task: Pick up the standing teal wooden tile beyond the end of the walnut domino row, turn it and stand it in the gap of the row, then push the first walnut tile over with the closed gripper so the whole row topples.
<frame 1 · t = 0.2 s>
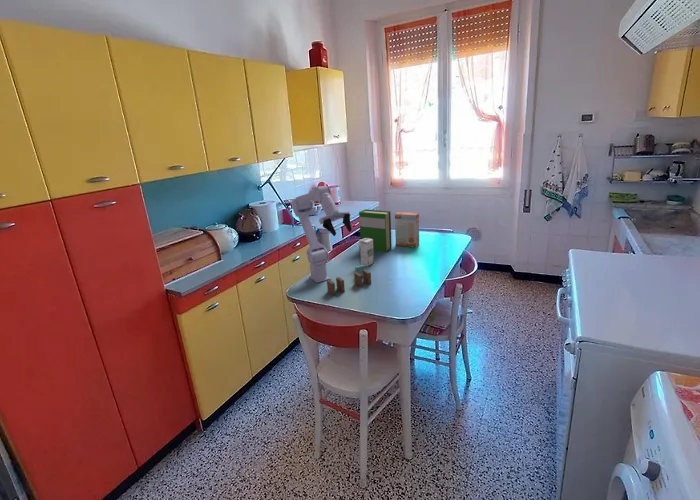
hand: (342, 232, 158), 31 cm above the table, tool tilted 45°, fingers open, 7 cm apart
syrup box: (367, 264, 206), on the table
tile 2: (340, 290, 176), on the table
tile 4: (367, 282, 183), on the table
teal tile: (360, 276, 190), on the table
tile 1: (331, 293, 174), on the table
hardback book: (376, 249, 229), on the table
cracker box: (407, 245, 231), on the table
tile 3: (358, 285, 180), on the table
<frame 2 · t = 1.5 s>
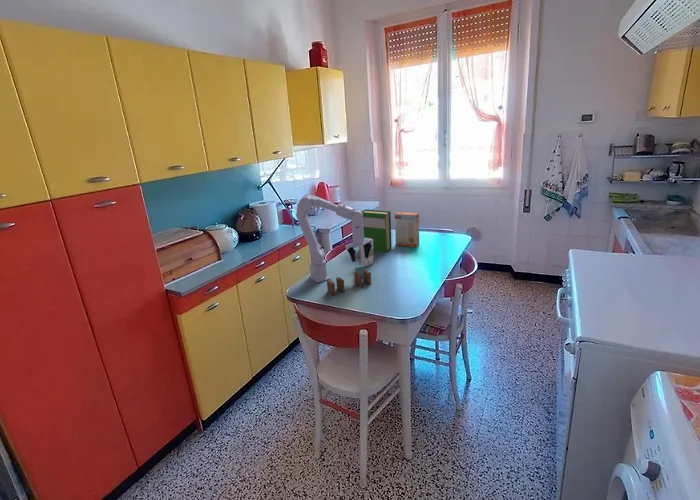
hand: (360, 259, 186), 10 cm above the table, tool pointing down, fingers open, 7 cm apart
nothing on the table moved.
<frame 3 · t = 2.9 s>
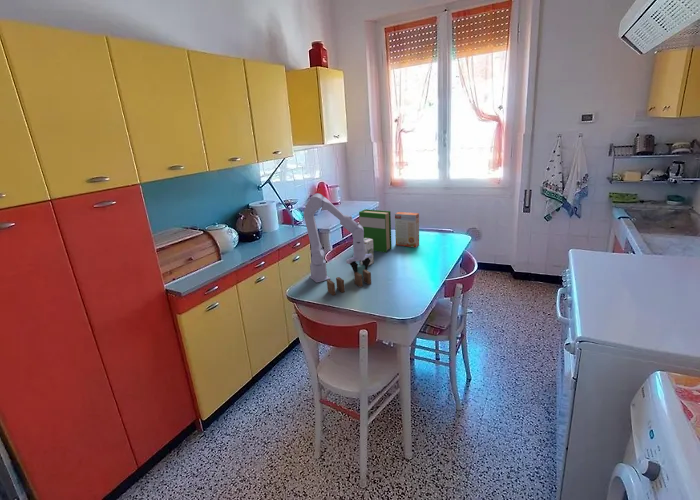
hand: (360, 273, 189), 2 cm above the table, tool pointing down, fingers closed on teal tile, 5 cm apart
teal tile: (360, 276, 190), on the table, touching gripper
everything else where it was.
when the fingers open (2 cm above the table, at t = 7.7 s): teal tile stays where it is, on the table.
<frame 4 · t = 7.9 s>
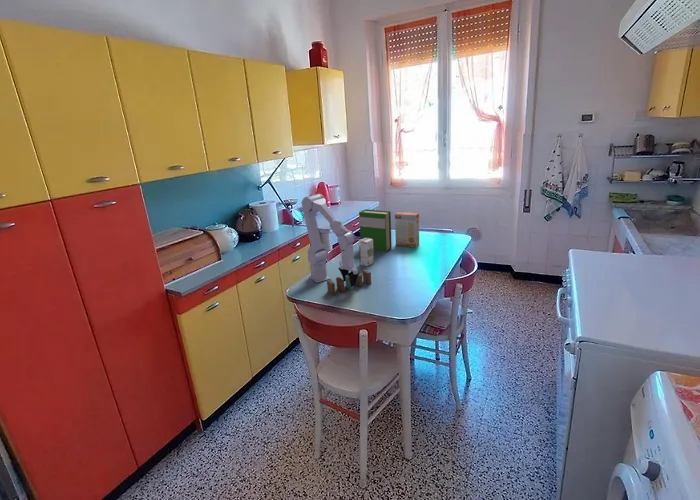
hand: (349, 283, 177), 2 cm above the table, tool pointing down, fingers open, 7 cm apart
teal tile: (349, 287, 178), on the table
everything else where it was.
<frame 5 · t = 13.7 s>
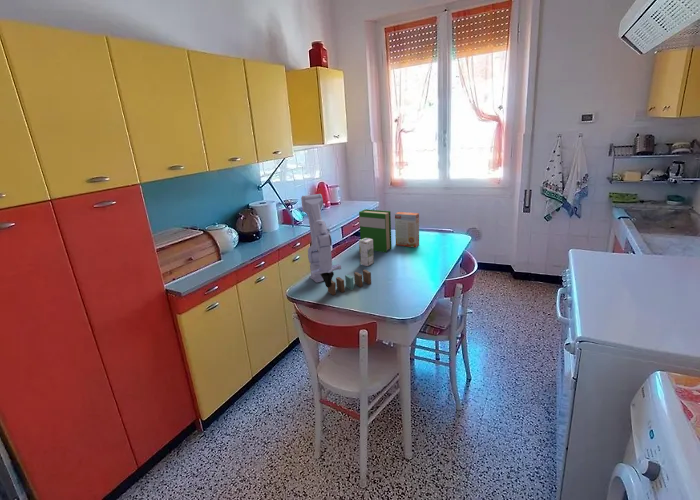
hand: (328, 286, 172), 4 cm above the table, tool pointing down, fingers closed
tile 1: (331, 293, 174), on the table, tilted 6°
everything else where it was.
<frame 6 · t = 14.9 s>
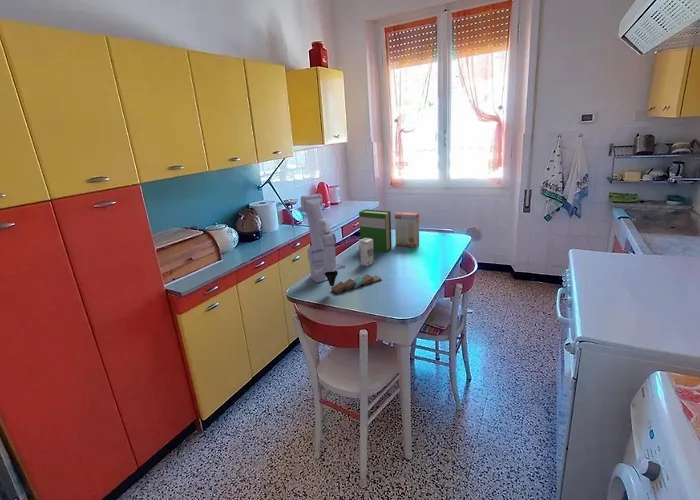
hand: (331, 285, 173), 4 cm above the table, tool pointing down, fingers closed
tile 2: (343, 288, 176), point 1 cm above the table, tilted 70°, touching teal tile, tile 1
tile 4: (368, 281, 183), on the table, tilted 90°, touching tile 3
teal tile: (351, 285, 178), point 1 cm above the table, tilted 72°, touching tile 2, tile 3
tile 1: (334, 291, 174), point 1 cm above the table, tilted 72°, touching tile 2
tile 3: (361, 282, 181), point 1 cm above the table, tilted 75°, touching teal tile, tile 4
everything else where it was.
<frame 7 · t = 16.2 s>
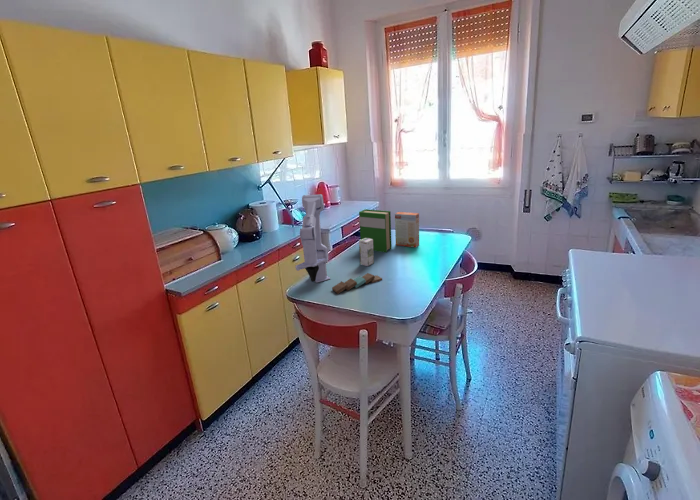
hand: (313, 281, 167), 9 cm above the table, tool pointing down, fingers closed
tile 3: (362, 281, 182), point 1 cm above the table, tilted 76°, touching teal tile, tile 4
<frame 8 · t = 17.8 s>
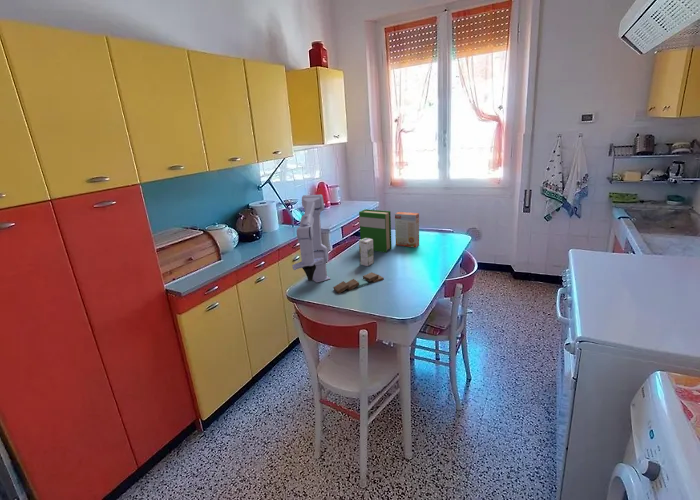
hand: (310, 280, 166), 9 cm above the table, tool pointing down, fingers closed
tile 2: (346, 287, 177), point 1 cm above the table, tilted 77°, touching teal tile, tile 1
teal tile: (355, 285, 180), on the table, tilted 90°, touching tile 2
tile 3: (366, 278, 183), point 2 cm above the table, tilted 89°, touching tile 4
at the end: tile 4 tilted 90°; teal tile tilted 90° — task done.
